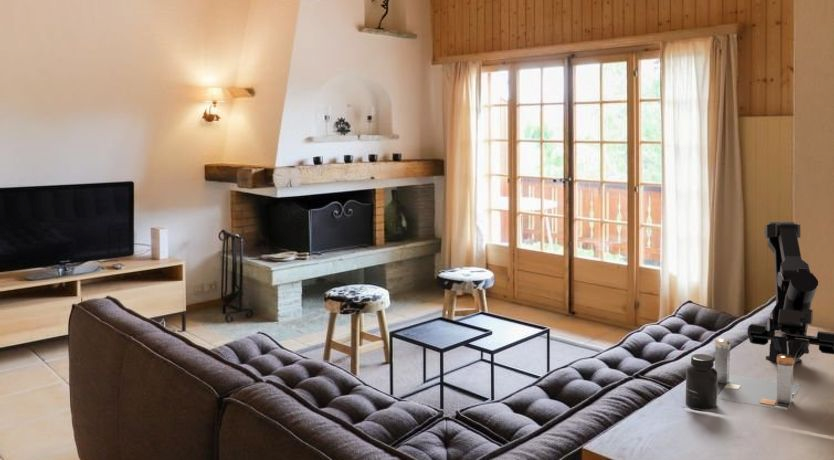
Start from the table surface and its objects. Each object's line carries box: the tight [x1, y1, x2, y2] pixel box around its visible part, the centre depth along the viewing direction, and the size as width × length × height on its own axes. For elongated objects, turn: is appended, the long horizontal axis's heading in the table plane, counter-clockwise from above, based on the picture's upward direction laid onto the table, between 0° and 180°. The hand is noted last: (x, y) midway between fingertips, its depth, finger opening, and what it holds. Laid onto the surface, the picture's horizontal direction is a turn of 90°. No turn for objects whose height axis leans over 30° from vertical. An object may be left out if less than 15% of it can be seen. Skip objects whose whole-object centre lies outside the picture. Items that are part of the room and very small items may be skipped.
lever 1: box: [714, 337, 732, 384], centre depth 176 cm, size 4×4×11 cm
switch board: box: [717, 373, 801, 412], centre depth 171 cm, size 18×18×1 cm
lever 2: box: [776, 354, 795, 404], centre depth 163 cm, size 4×4×11 cm
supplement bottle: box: [685, 353, 718, 412], centre depth 164 cm, size 7×7×12 cm
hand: (786, 370), depth 164 cm, fingers closed
